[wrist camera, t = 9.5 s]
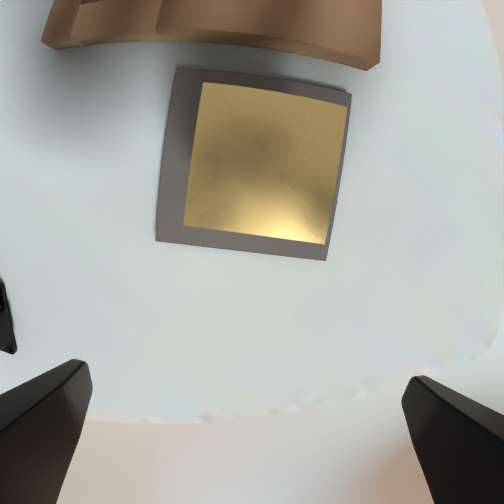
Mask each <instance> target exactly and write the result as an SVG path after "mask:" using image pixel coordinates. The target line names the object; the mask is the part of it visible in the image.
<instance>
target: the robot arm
mask: <svg viewBox="0 0 504 504" xmlns="http://www.w3.org/2000/svg"><path fill="white" fill-rule="evenodd" d="M0 351H4V352H7V353H9V354H15V352H16V351H17V348H16V344H15V340H14V335H13V331H12V326H11V322H10V317H9V312H8V306H7V301H6V295H5V289H4V286H3V284H2V283H1V282H0ZM92 389H93V387H92V381H91V376H90V372H89V367H88V364H87V363H86V362H85V361H82V360H77V359H71V360H69V361H67V362H65V363H63V364H61V365H59V366H57V367H55V368H53V369H51V370H49V371H47V372H45V373H43V374H41V375H39V376H37V377H35V378H33V379H31V380H29V381H27V382H25V383H23V384H21V385H19V386H17V387H15V388H13V389H11V390H9V391H7V392H5V393H3V394H1V395H0V504H56V502H57V499H58V496H59V493H60V490H61V487H62V484H63V481H64V479H65V476H66V473H67V470H68V467H69V465H70V462H71V459H72V457H73V454H74V451H75V449H76V446H77V444H78V441H79V438H80V435H81V431H82V427H83V424H84V420H85V416H86V412H87V409H88V405H89V402H90V398H91V395H92ZM402 408H403V411H404V415H405V418H406V421H407V425H408V429H409V433H410V436H411V440H412V443H413V446H414V449H415V452H416V454H417V457H418V460H419V462H420V465H421V468H422V470H423V473H424V476H425V479H426V481H427V484H428V487H429V490H430V493H431V495H432V499H433V501H434V504H504V415H502V414H500V413H498V412H496V411H494V410H492V409H490V408H488V407H486V406H484V405H482V404H480V403H478V402H476V401H474V400H472V399H470V398H468V397H466V396H464V395H462V394H460V393H458V392H456V391H454V390H452V389H450V388H448V387H446V386H444V385H442V384H440V383H438V382H436V381H434V380H432V379H431V378H429V377H427V376H424V375H421V376H414V377H412V378H411V379H410V381H409V383H408V385H407V388H406V390H405V392H404V394H403V397H402Z"/></svg>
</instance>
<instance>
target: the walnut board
mask: <svg viewBox="0 0 504 504" xmlns="http://www.w3.org/2000/svg"><path fill="white" fill-rule="evenodd" d="M381 14H382V0H106V1H99V2H97V0H54V3H53V6H52V8H51V11H50V14H49V17H48V20H47V23H46V26H45V30H44V33H43V36H42V40H41V42H43V43H45V44H46V45H48V46H50V47H52V48H54V49H62V48H69V47H76V46H84V45H93V44H103V43H115V42H132V41H193V42H211V43H223V44H234V45H243V46H251V47H259V48H266V49H272V50H278V51H284V52H290V53H295V54H300V55H305V56H310V57H315V58H319V59H323V60H328V61H332V62H336V63H340V64H344V65H347V66H351V67H355V68H358V69H362V70H365V71H367V70H369V69H370V68H372V67H373V66H375V65H377V64H378V63H380V47H381Z"/></svg>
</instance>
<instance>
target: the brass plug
mask: <svg viewBox="0 0 504 504" xmlns="http://www.w3.org/2000/svg"><path fill="white" fill-rule="evenodd" d="M346 113H347V107H345V106H341V105H337V104H333V103H329V102H325V101H320V100H316V99H311V98H306V97H302V96H297V95H291V94H286V93H281V92H275V91H269V90H263V89H256V88H249V87H242V86H234V85H226V84H216V83H206V82H203V87H202V92H201V98H200V104H199V110H198V116H197V123H196V129H195V136H194V143H193V150H192V157H191V164H190V172H189V180H188V188H187V196H186V205H185V215H184V224H183V226H191V227H199V228H207V229H215V230H223V231H230V232H238V233H246V234H253V235H261V236H268V237H275V238H283V239H290V240H297V241H304V242H311V243H319V244H325V239H326V234H327V229H328V224H329V219H330V214H331V208H332V203H333V197H334V192H335V186H336V180H337V174H338V168H339V162H340V155H341V149H342V142H343V135H344V128H345V121H346Z"/></svg>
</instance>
